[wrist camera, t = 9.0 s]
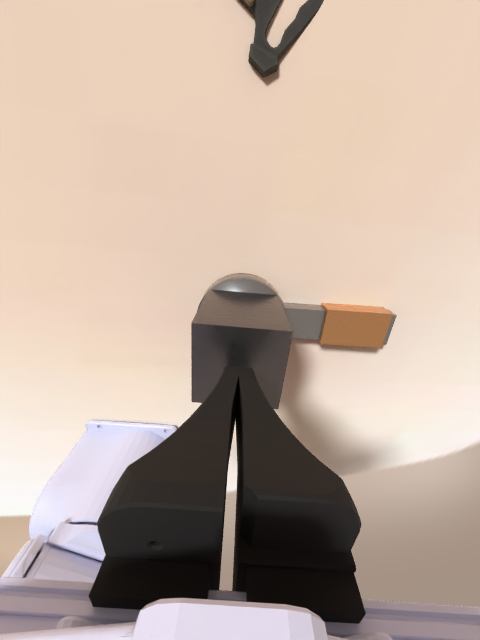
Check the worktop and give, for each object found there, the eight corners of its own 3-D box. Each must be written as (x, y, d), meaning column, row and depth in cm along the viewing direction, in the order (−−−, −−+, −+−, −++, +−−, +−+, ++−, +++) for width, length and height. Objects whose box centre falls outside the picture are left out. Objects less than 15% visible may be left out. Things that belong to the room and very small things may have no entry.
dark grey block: (207, 349, 19) (191, 401, 14) (208, 289, 17) (191, 323, 12) (269, 354, 20) (278, 409, 14) (278, 295, 17) (292, 331, 12)
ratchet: (200, 347, 21) (188, 381, 17) (200, 270, 19) (185, 287, 14) (371, 359, 22) (403, 396, 17) (396, 283, 19) (442, 304, 14)
